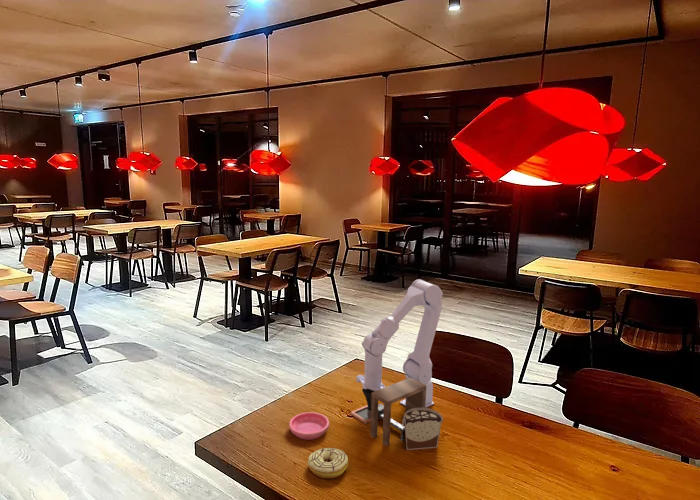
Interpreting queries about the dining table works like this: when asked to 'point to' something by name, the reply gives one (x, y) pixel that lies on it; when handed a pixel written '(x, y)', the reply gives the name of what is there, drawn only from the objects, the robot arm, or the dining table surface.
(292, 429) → the pink shallow round bowl
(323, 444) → the dining table surface
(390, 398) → the tunnel
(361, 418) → the picture frame
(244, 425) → the dining table surface
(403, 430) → the grey piece
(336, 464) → the decorated donut
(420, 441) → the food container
